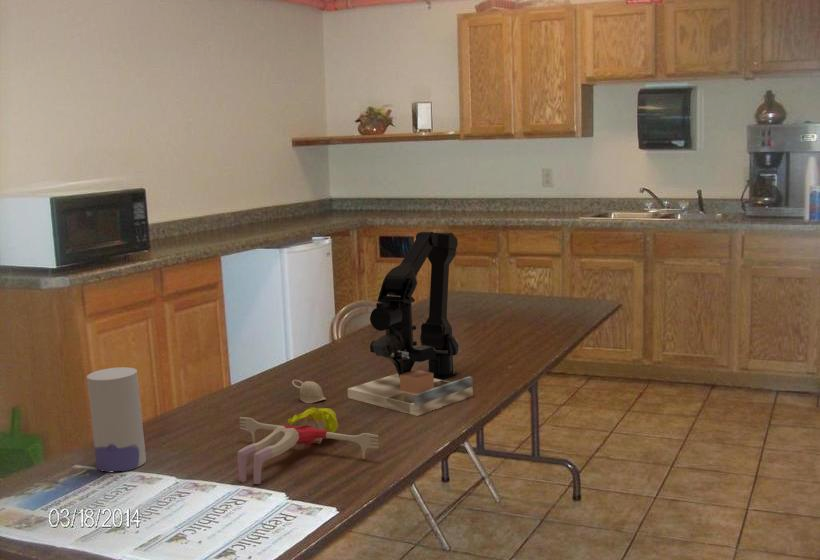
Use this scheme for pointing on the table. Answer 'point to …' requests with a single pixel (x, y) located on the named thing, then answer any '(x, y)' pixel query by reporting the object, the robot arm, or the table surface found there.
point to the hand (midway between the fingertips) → (403, 382)
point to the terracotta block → (416, 381)
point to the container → (116, 419)
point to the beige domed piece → (309, 391)
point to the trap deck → (411, 394)
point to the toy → (294, 438)
